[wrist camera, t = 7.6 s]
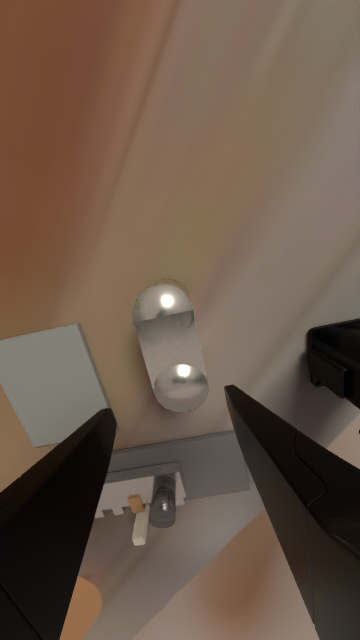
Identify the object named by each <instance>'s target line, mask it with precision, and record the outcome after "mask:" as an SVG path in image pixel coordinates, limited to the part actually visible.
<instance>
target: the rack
mask: <svg viewBox="0 0 360 640" xmlns="http://www.w3.org/2000/svg"><path fill="white" fill-rule="evenodd" d="M185 497H186V484H185V481H184V477H183V474H182V470H181V467H180V463H179V462H173V463H167V464H161V465H155V466H149V467H143V468H137V469H131V470H125V471H119V472H113V473H107V476H106V479H105V483H104V486H103V490H102V493H101V497H100V500H99V503H98V507H97V510H96V514H95V518H101V517H105V514H106V511H107V509H112V510H113V512H114V515H121V514H124V513H125V509H126V506H130V507H131V509H132V512H133V513H139V512H144V511H145V503H151V506H150V515H149V521H150V523H151V524H152V525H153V526H155V527H158V528H167V527H170V526H172V525H173V524H174V522H175V513H176V506H179V505H185Z"/></svg>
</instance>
